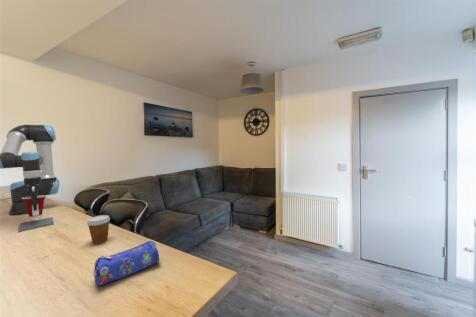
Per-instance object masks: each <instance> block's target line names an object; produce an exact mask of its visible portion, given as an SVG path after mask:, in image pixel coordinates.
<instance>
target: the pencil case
mask: <svg viewBox="0 0 476 317" xmlns="http://www.w3.org/2000/svg"><path fill="white" fill-rule="evenodd" d="M159 262H160V254H159V251H158V248H157V244H156V243H155V242H154V241H152V240H148V241H146V242H144V243H141V244H139V245H137V246H135V247H133V248H129V249H127V250H123V251H121V252H120V251H119V252H117V253H115V254H111V255H109V256H108V255H101V256H100V257H98V259H96V260H95V262H94V269H93V277H94V281H95V284H96V285H97V286H102V285H103V286H104V285H106V284H108V283H111V282H113V281H117V280H121V279H123V278H125V277H128V276H130V275H132V274H134V273H137V272H139V271H140V270H143V269H145V268H147V267H149V266H152V265H155V264H157V263H159Z"/></svg>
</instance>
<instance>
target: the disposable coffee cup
mask: <svg viewBox="0 0 476 317" xmlns="http://www.w3.org/2000/svg"><path fill="white" fill-rule="evenodd" d="M110 220H111V218H110V216H109V215H107V214H101V215H96V216H93V217H89V218H88V219H87V222H86V224H87V226H88V229H89V234H90V237H91V242H92V243H91V244H92V245H101V244H102V245H103V244H104V243H106V242H108V240H109V224H110Z"/></svg>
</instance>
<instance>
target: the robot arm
mask: <svg viewBox="0 0 476 317" xmlns="http://www.w3.org/2000/svg"><path fill="white" fill-rule="evenodd" d="M5 137H6V140H5V143H4V145H3V147H2V149H1V151H0V169H12V168H13V169H14V168H22V177H23V180H20V181H15V182H12V183H10V189H9V191H10V197H11V198H10V199H11V206H10V208H9V211H8V213H9V214H8V215H9V216H20V215H25V214H26V215H28V212H27V210H26V207H25V204H24V201H23V199H22V197H28V196H31V202H32V204H30V206H32V214H33V216H34V217H38V216H37V215H39V209H38V203H37V195H46V196H51V195H56V194H58V193H59V190H60V179H59V178H57V176H56V175H54V162H53V151H52V145H53V144H54V141H56V140H57V138H56V133H55V128H54V127H53V126H52V125H49V124H21V125H18V126H15V127H13V128H12V129H10V130H9V131H8V132H7V133H6V136H5ZM25 141H32V143H33V144H34V145H35V147H36V148H35V149H36V151H23V152H21V154H19V153H20V150H21V148H22V146H23V143H25ZM34 202H35V203H34ZM39 216H40V215H39Z"/></svg>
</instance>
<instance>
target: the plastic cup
mask: <svg viewBox="0 0 476 317" xmlns="http://www.w3.org/2000/svg"><path fill="white" fill-rule="evenodd" d="M46 197H47V195H37V203H38V209H39V215H37V216H36V217H38V216H41V215H43V210H44V204H45V199H46ZM22 199H23V201H24V204H25V207H26V210H27V212H28V213H27V215H28V217H29V218H31V217H32V218H33V217H35V216H33V214H32V206H30V204H32V202H31V196H28V197H22ZM34 203H35V202H34Z"/></svg>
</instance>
